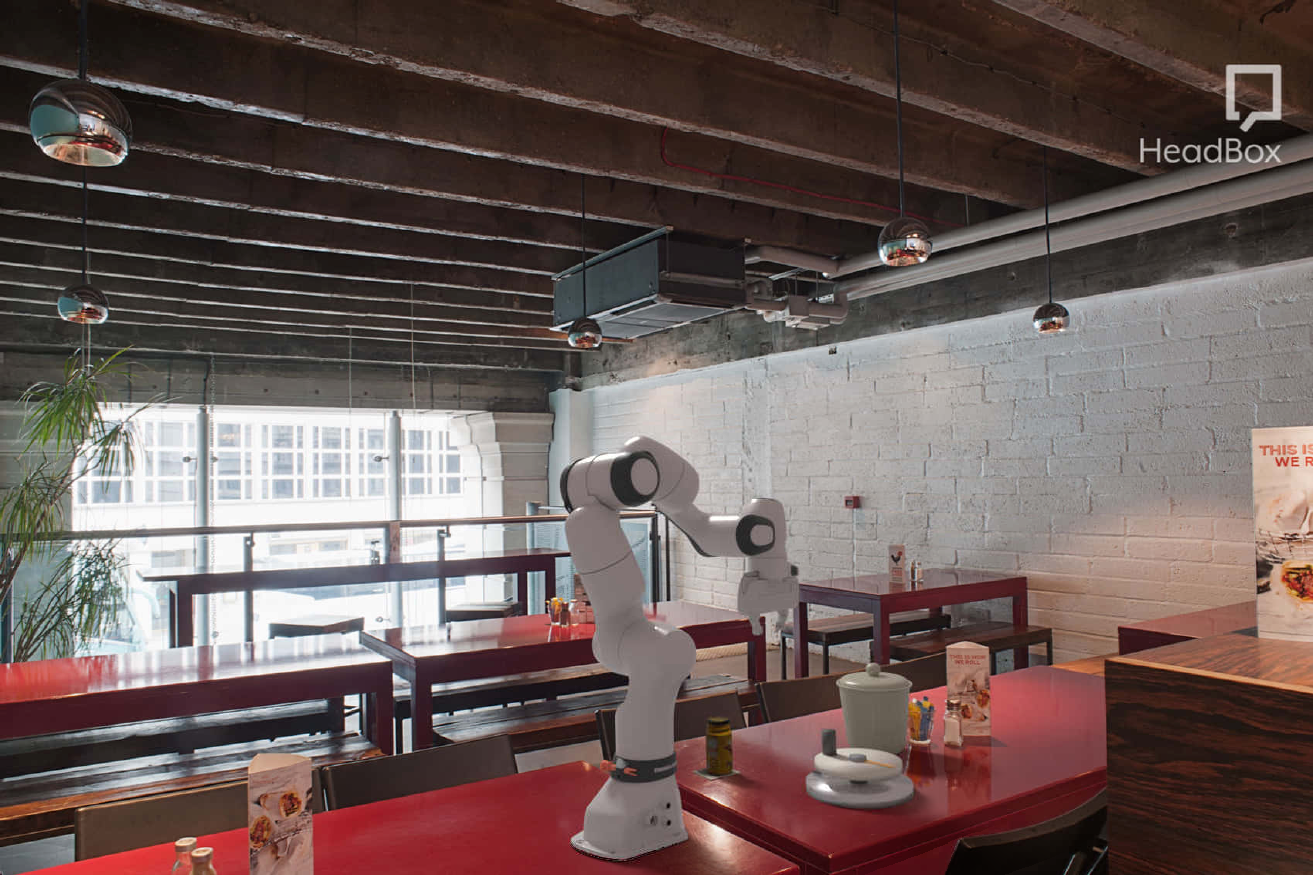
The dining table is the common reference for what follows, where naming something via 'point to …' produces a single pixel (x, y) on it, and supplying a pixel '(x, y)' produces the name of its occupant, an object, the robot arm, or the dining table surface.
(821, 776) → the disc
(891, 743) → the canister
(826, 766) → the handwheel
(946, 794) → the dining table surface
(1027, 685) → the dining table surface
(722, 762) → the condiment
